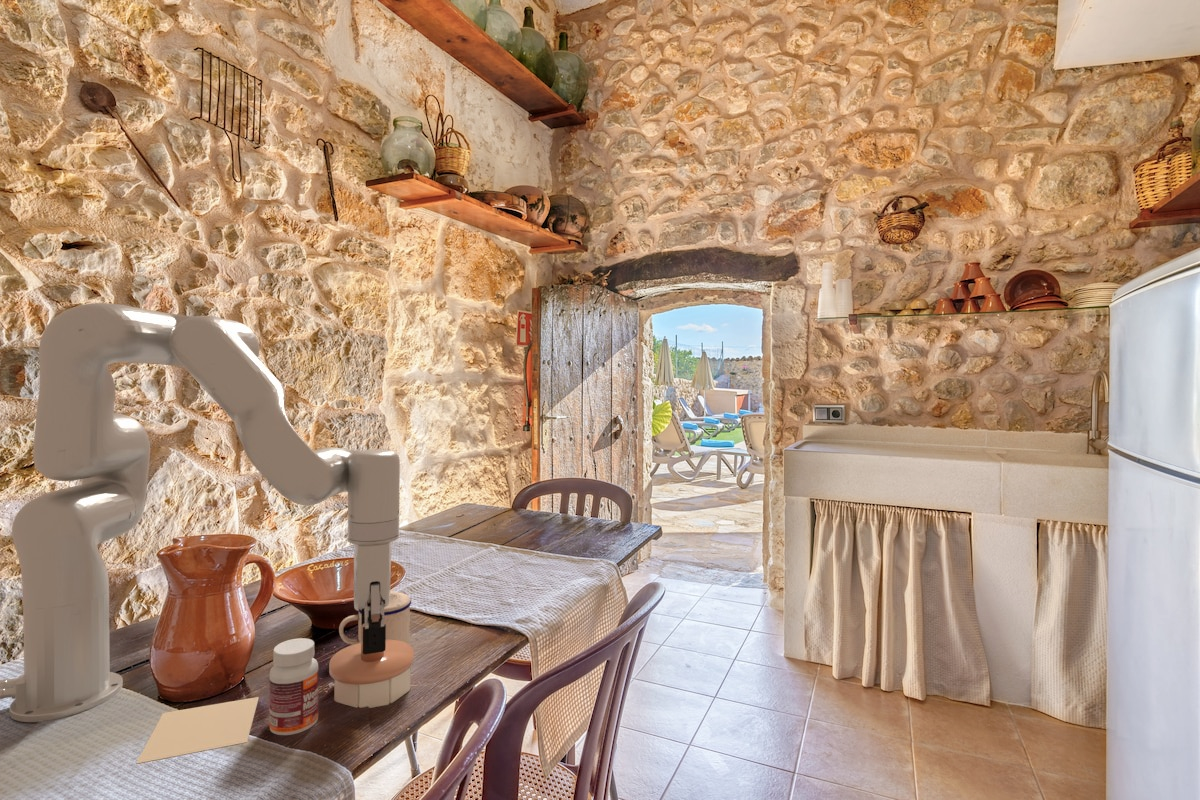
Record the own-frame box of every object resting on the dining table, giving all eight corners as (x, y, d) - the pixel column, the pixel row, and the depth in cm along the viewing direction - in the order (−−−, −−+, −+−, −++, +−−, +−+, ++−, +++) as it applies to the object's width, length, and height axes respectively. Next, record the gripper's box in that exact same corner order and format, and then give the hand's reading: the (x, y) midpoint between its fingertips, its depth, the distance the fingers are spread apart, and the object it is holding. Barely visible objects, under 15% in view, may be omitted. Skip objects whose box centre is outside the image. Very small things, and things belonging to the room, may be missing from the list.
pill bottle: (312, 735, 81) (312, 654, 81) (262, 740, 80) (263, 657, 79) (322, 710, 87) (323, 634, 87) (276, 715, 86) (277, 638, 85)
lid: (328, 691, 85) (328, 648, 85) (330, 653, 96) (330, 616, 96) (417, 675, 90) (418, 635, 90) (409, 641, 101) (410, 605, 101)
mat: (136, 766, 74) (136, 763, 74) (163, 715, 85) (163, 712, 85) (246, 744, 79) (246, 742, 79) (258, 699, 90) (258, 696, 90)
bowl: (333, 714, 86) (334, 687, 86) (335, 679, 96) (335, 654, 96) (412, 699, 91) (413, 674, 90) (405, 667, 101) (406, 644, 100)
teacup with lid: (405, 636, 113) (405, 575, 112) (415, 656, 105) (416, 591, 104) (336, 649, 107) (336, 585, 106) (341, 671, 99) (342, 602, 98)
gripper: (347, 518, 99) (346, 623, 100) (347, 546, 83) (347, 671, 84) (394, 515, 102) (394, 617, 103) (404, 541, 86) (403, 662, 87)
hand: (373, 640), depth 93 cm, fingers open, 7 cm apart
